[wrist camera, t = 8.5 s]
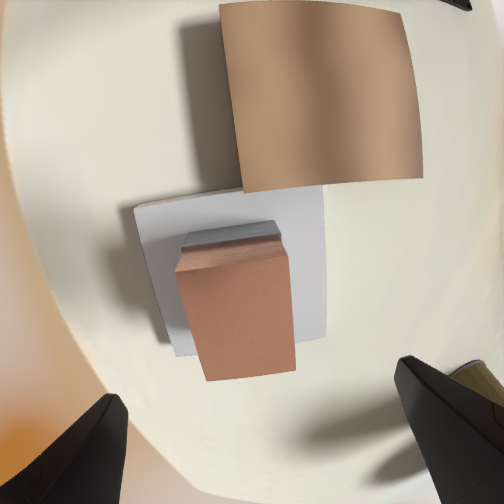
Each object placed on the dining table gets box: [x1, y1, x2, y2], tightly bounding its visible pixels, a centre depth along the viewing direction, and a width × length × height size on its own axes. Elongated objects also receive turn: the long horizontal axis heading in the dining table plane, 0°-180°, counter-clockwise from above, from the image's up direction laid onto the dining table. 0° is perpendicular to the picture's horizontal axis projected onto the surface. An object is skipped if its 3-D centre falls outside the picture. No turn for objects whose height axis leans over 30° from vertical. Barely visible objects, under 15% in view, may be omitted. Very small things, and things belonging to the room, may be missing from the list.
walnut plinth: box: [219, 0, 423, 194], centre depth 14 cm, size 11×11×2 cm
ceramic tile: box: [133, 185, 326, 357], centre depth 19 cm, size 11×11×2 cm
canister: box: [449, 360, 504, 407], centre depth 18 cm, size 11×10×20 cm
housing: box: [175, 220, 296, 381], centre depth 15 cm, size 7×5×5 cm
